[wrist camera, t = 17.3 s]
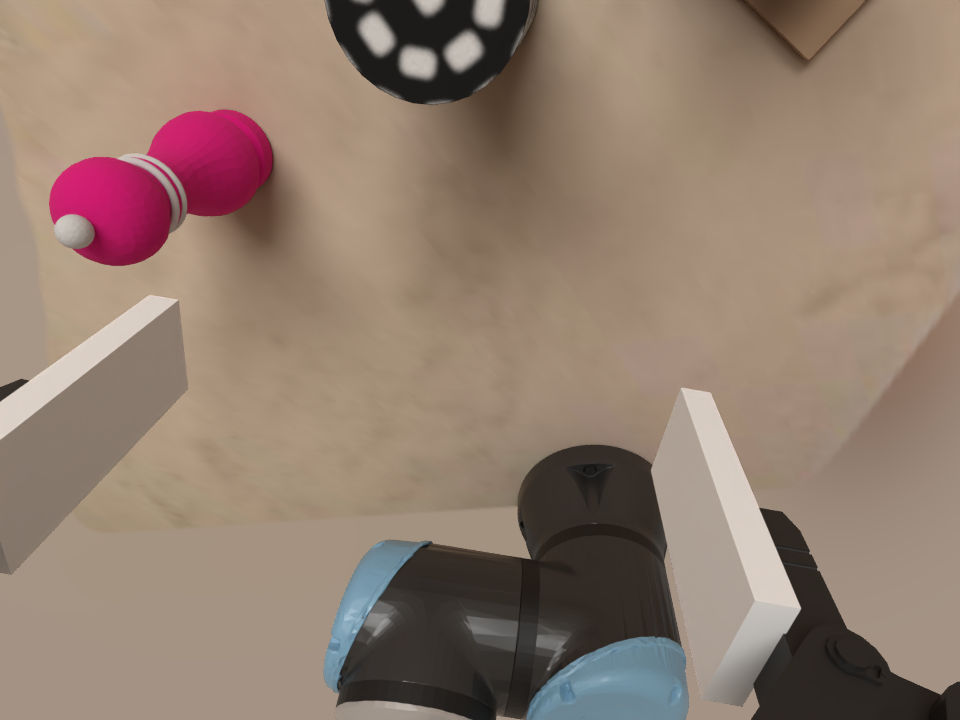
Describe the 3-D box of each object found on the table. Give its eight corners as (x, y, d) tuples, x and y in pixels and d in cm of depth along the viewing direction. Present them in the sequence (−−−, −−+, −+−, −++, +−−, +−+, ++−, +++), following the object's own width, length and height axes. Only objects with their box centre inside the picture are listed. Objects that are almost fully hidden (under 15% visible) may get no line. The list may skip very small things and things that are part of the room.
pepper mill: (285, 199, 51) (149, 305, 33) (199, 195, 51) (21, 297, 34) (272, 103, 47) (111, 168, 30) (179, 100, 47) (-32, 161, 30)
